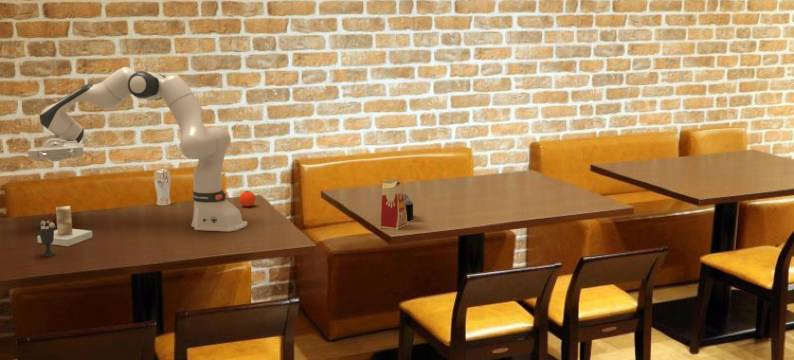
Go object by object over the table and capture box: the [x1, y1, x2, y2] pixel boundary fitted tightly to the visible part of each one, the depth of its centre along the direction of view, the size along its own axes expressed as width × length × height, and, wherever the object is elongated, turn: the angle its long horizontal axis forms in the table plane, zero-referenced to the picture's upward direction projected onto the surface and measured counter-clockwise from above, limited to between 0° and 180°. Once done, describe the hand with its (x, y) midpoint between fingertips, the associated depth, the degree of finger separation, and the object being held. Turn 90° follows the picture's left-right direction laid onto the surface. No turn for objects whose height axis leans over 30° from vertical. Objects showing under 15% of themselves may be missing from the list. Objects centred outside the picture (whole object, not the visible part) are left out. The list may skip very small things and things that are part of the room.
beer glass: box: [153, 168, 172, 206], centre depth 419 cm, size 7×7×15 cm
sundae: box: [35, 212, 57, 257], centre depth 340 cm, size 7×7×15 cm
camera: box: [403, 192, 414, 222], centre depth 394 cm, size 15×7×10 cm, turn 33°
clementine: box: [239, 190, 256, 208], centre depth 415 cm, size 8×7×7 cm
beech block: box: [55, 205, 73, 236], centre depth 359 cm, size 5×5×10 cm
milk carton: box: [379, 177, 408, 231], centre depth 378 cm, size 9×9×20 cm
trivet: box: [36, 228, 93, 247], centre depth 361 cm, size 14×14×2 cm
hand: (57, 154), depth 365 cm, fingers open, 8 cm apart
